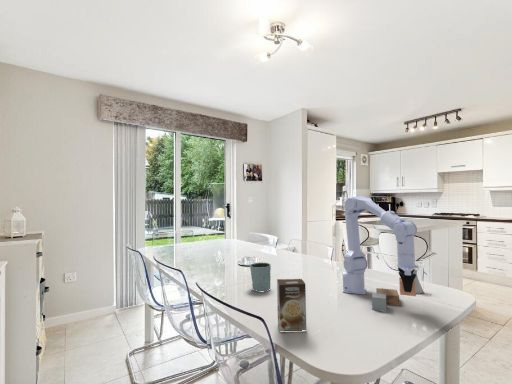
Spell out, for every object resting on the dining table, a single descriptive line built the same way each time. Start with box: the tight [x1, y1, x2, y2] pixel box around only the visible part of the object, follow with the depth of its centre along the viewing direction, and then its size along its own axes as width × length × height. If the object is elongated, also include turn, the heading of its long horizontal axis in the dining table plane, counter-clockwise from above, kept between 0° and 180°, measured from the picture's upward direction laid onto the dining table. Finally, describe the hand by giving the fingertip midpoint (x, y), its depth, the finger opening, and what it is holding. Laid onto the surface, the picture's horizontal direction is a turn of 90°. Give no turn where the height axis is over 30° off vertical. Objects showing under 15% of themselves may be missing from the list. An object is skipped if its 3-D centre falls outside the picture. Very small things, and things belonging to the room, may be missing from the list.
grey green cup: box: [249, 262, 272, 292], centre depth 137 cm, size 10×10×12 cm
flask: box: [413, 268, 425, 295], centre depth 127 cm, size 7×7×10 cm
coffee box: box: [276, 278, 307, 332], centre depth 96 cm, size 9×6×16 cm
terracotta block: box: [398, 277, 417, 297], centre depth 106 cm, size 5×5×5 cm
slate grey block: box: [371, 292, 387, 312], centre depth 110 cm, size 5×5×5 cm
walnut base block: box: [376, 287, 401, 307], centre depth 117 cm, size 8×8×4 cm
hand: (407, 289), depth 106 cm, fingers closed on terracotta block, 5 cm apart
